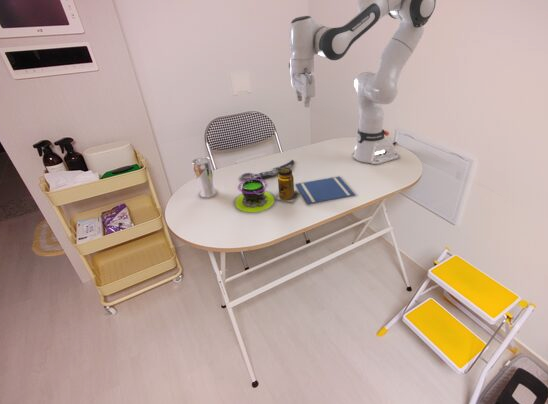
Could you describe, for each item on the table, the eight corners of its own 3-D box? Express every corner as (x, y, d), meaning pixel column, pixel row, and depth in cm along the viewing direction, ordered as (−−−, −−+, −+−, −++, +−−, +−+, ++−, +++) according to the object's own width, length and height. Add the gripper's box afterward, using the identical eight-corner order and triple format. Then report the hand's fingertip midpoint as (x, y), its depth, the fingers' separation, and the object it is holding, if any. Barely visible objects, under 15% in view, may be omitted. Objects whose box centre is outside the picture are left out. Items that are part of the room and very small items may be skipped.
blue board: (339, 177, 135) (339, 176, 134) (354, 195, 122) (354, 194, 122) (296, 184, 129) (296, 183, 129) (307, 204, 117) (307, 203, 116)
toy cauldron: (277, 208, 114) (275, 183, 108) (237, 215, 111) (232, 189, 105) (270, 189, 126) (268, 165, 120) (234, 194, 123) (229, 170, 117)
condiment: (275, 199, 120) (272, 172, 113) (284, 189, 126) (283, 163, 120) (291, 203, 118) (290, 175, 111) (300, 192, 124) (299, 166, 117)
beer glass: (202, 189, 127) (195, 156, 118) (219, 189, 126) (212, 156, 118) (197, 198, 121) (188, 164, 112) (214, 198, 121) (206, 164, 112)
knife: (292, 158, 149) (302, 164, 141) (292, 161, 149) (303, 168, 142) (237, 173, 136) (246, 182, 129) (238, 177, 137) (246, 185, 129)
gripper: (319, 70, 107) (319, 109, 114) (302, 62, 123) (303, 96, 131) (302, 71, 105) (303, 111, 113) (287, 63, 121) (288, 98, 129)
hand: (303, 103), depth 122 cm, fingers open, 8 cm apart
